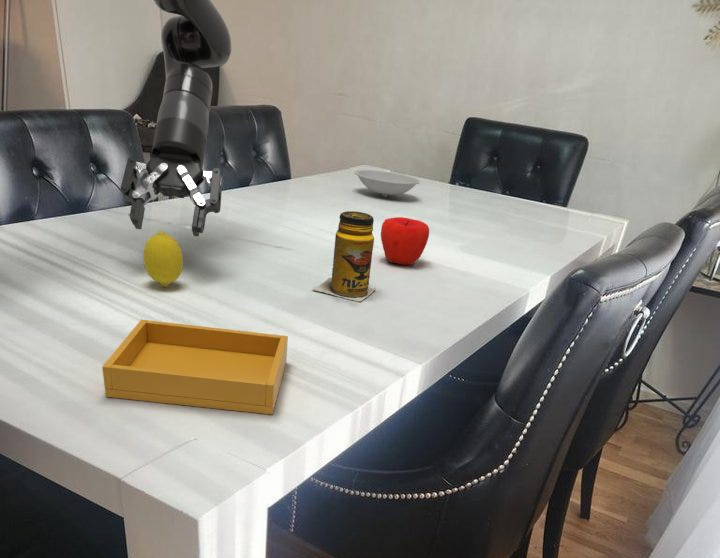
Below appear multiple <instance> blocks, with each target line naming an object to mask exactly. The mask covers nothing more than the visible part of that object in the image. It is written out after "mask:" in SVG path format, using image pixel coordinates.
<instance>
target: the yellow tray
mask: <svg viewBox="0 0 720 558" xmlns="http://www.w3.org/2000/svg"><path fill="white" fill-rule="evenodd" d="M288 339H289V335H283V334H282V335H280V334H271V333H264V332H263V333H262V332H253V331H247V330H246V331H245V330H237V329H228V328H219V327H211V326H202V325H193V324H183V323H175V322H167V321H157V320H149V319H140V320H139V321H138V323H137V324H136V325H135V326H134V327H133V329H131V331H130V332H129V333H128V335H127V336H126V337H125V338H124V339H123V341H122V342H121V343H120V344H119V345H118V347H116V349H115V350H114V352H113V353H112V354H111V355H110V356H109V358H108V359H107V360H106V361H105V363H104V364H102V367H101V369H102V376H103V377H102V378H103V384H104V392H105V397H107V398H115V399H123V400H132V401H140V402H141V401H142V402H152V403H161V404H171V405H179V406H189V407H199V408H207V409H215V410H216V409H217V410H225V411H226V410H227V411H236V412H243V413H244V412H245V413H254V414H262V415H274V410H275V406H276V403H277V399H278V396H279V392H280V389H281V384H282V381H283V376H284V373H285V368H286V365H287V360H288V359H287V355H288V341H289V340H288Z"/></svg>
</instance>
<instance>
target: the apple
mask: <svg viewBox="0 0 720 558" xmlns="http://www.w3.org/2000/svg"><path fill="white" fill-rule="evenodd" d="M429 237H430V227H429V226H428V224H427V223H425V222H423V221H421V220H419V219H414V218H409V217H403V216H398V217H391V218H385V219H384V220H383V222H382V224H381V229H380V241H381V244H382V245H381V246H382V249H383V252H384V253H383V254H384V256H385V258H386V260H388V262H391V263H393V264H397V265H403V266H410V265H412V264H415V263H416V262H417V261H418V260H419V259H421V256H422V255H423V253H424V250H425V248H426V246H427V244H428V240H429Z"/></svg>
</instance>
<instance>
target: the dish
mask: <svg viewBox="0 0 720 558" xmlns="http://www.w3.org/2000/svg"><path fill="white" fill-rule="evenodd" d="M354 175H356V176H357V177H358V180H359V181H360V182H361V183H362V184H363V186H364V187H365V188H367V189H368V190H370V191H371V192H372V191H373V192H374V193H378V194H380V195H381V197H383V198H388V197H389V196H397V195H398V196H399V195H404V194H405V193H408V192H409V191H410V190H412V189H413V188H414V187H415V186H416V185H418V184H420V182H421V181H420V180H419V179H418V178H415V177H412V176H409V175H406V174H401V173H396V172H391V171H384V170H375V169H358V170H355V171H354Z"/></svg>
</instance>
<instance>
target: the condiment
mask: <svg viewBox="0 0 720 558" xmlns="http://www.w3.org/2000/svg"><path fill="white" fill-rule="evenodd" d="M374 219H375V218H374V217H373V215H371V214H369V213H367V212H362V211H356V210H355V211H354V210H352V211H351V210H347V211H343V212H341V213H340V214H339V222H338V225H337V230H336V232H335V236H334V247H333V258H332V259H333V260H332V271H331V277H328V278H327V279H325V281H323V282H322V283H320V284H319V285H317V286H315V287H314V288H312V289H311V291H316V292H319V293H324V294H327V295H328V294H329V295H332V296H335V297H338V298H343V299H347V300H350V301H355V302H362V301H363V300H365V299H366V298H368V297H369V296H370V295H371V294H372V293H373V292H374V291H375V290H377V288H374V287H369V286H370V278H371V269H372V259H373V251H374V245H375V236H374V234H373V231H374V223H375V222H374Z"/></svg>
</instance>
